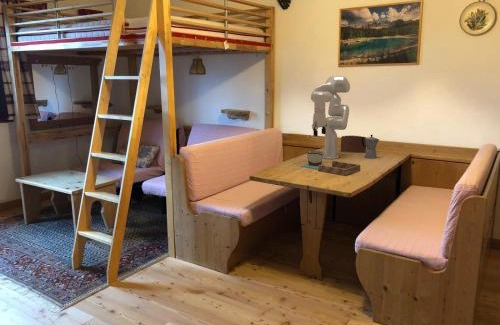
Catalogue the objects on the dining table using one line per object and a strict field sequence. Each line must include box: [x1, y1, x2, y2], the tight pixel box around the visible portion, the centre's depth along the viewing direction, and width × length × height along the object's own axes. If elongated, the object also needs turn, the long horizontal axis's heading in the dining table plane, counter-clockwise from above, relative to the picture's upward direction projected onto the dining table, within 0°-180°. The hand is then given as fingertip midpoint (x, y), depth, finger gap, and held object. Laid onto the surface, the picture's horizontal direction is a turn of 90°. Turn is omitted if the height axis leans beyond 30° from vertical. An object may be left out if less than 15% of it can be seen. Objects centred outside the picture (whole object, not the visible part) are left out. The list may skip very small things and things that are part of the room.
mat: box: [300, 163, 327, 170], centre depth 289 cm, size 16×12×1 cm
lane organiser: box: [317, 160, 361, 177], centre depth 275 cm, size 21×18×4 cm
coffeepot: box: [361, 134, 380, 160], centre depth 315 cm, size 15×9×18 cm, turn 44°
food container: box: [306, 150, 324, 167], centre depth 289 cm, size 12×6×10 cm, turn 61°
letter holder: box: [340, 135, 367, 154], centre depth 341 cm, size 10×20×14 cm, turn 70°
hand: (319, 135), depth 288 cm, fingers open, 9 cm apart
